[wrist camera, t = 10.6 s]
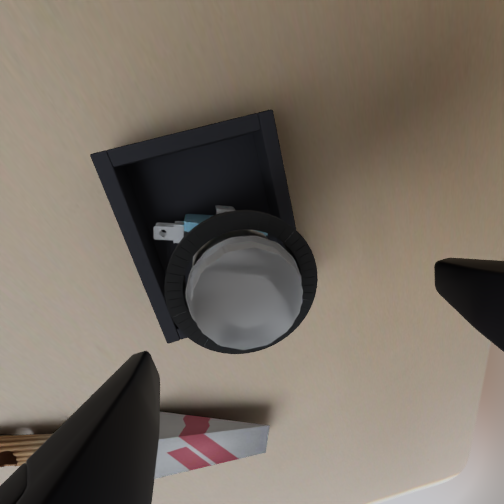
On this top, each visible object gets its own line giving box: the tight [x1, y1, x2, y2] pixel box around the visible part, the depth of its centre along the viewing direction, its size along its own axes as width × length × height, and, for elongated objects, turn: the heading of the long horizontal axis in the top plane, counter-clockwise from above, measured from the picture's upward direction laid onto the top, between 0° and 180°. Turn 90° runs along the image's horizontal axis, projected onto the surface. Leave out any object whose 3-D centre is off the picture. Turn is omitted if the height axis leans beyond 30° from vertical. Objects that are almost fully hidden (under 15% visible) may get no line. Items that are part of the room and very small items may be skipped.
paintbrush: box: [0, 412, 270, 479], centre depth 22 cm, size 4×3×20 cm
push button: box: [154, 205, 317, 354], centre depth 14 cm, size 7×5×10 cm
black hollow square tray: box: [90, 110, 296, 343], centre depth 18 cm, size 9×11×3 cm
